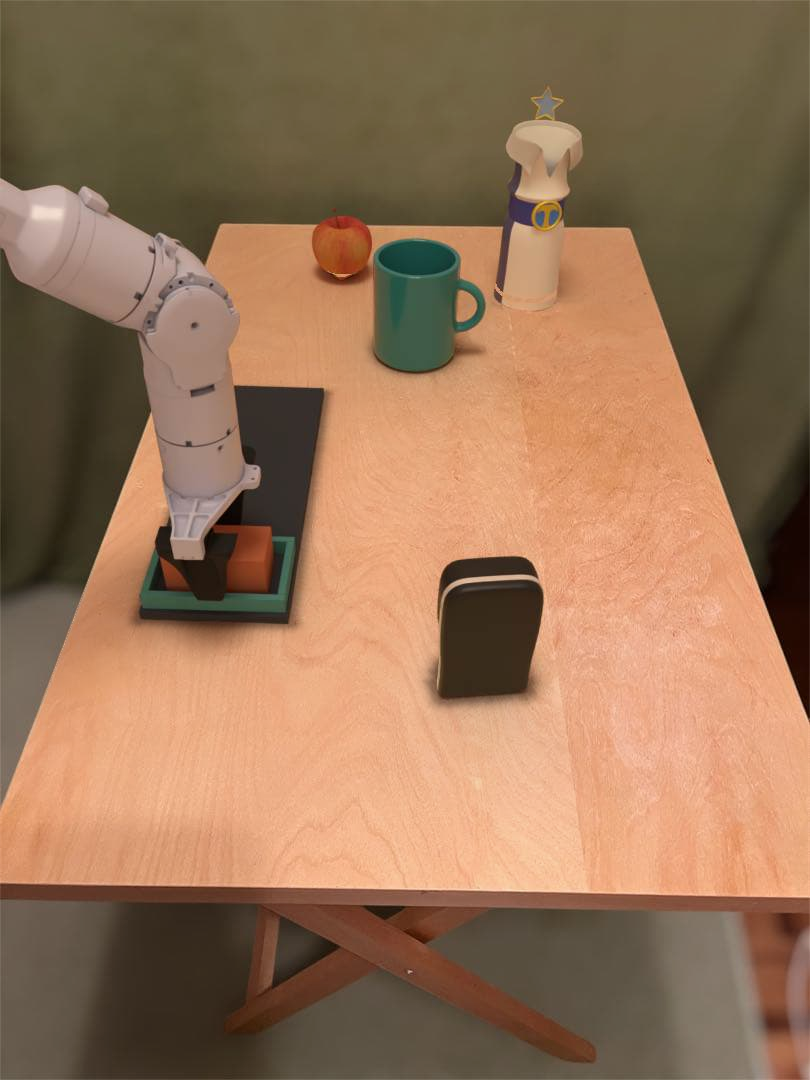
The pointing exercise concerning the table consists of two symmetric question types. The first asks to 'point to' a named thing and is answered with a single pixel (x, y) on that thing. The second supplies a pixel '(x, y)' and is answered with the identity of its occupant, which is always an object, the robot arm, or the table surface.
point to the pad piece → (238, 562)
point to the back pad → (258, 506)
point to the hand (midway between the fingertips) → (219, 562)
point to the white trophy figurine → (536, 206)
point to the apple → (342, 245)
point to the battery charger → (487, 625)
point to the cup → (418, 303)
